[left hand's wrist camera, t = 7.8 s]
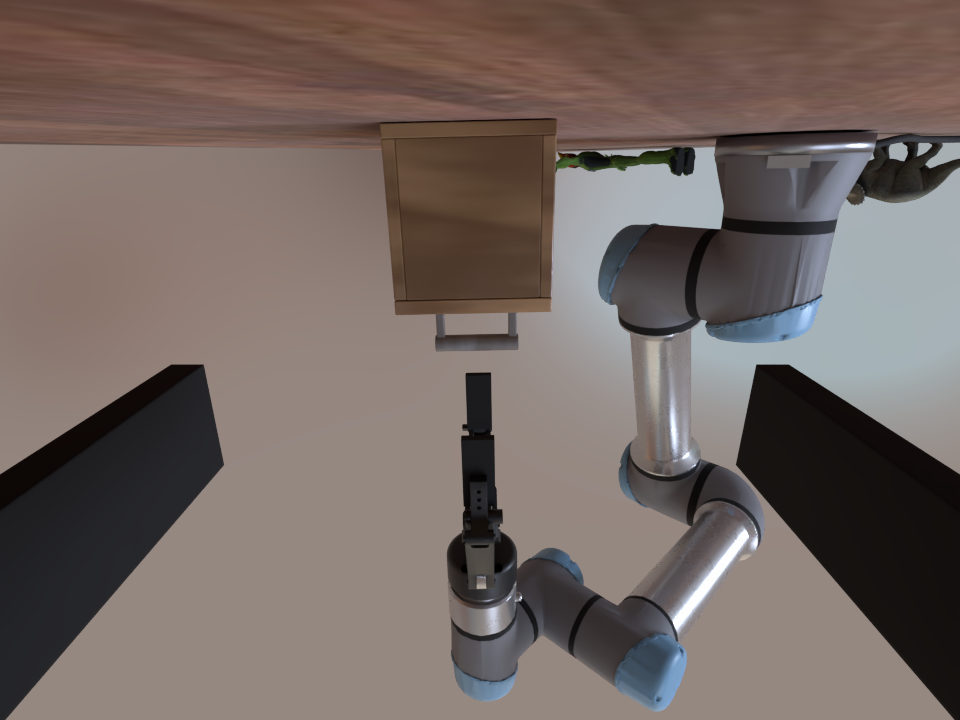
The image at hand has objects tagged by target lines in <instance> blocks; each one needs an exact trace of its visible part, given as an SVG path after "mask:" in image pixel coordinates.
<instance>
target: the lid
mask: <svg viewBox="0 0 960 720" xmlns="http://www.w3.org/2000/svg"><path fill="white" fill-rule="evenodd" d="M551 310H552V298H551V297H540V296H539V297H528V298H480V299H433V300H407V299H406V300H395V314H396V315H419V314H436V325H437V335H436V338H435V345H436V351H480V350H518V334H516V312H551ZM467 313H508V334H476V335H445V318H444V314H467Z"/></svg>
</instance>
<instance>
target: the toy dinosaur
mask: <svg viewBox="0 0 960 720" xmlns="http://www.w3.org/2000/svg"><path fill="white" fill-rule="evenodd" d="M903 144H904V145H906V146H907V147H908V148H907V151H908V155H907V157H906V159H905V161H899V160H896V159H890V158H889V146H890V145H887V146H883V147H879V148H875V149H874V152H873V155H874V158H875V159H873V160H870V161H868V162H867V164H866V166H865V167H864V169H863V171H862V172H861V174H860V176H859V177H858V179H857V181H856V182H855V184H854V186H853V188H852V189H851V191H850V193H849V194H848V196H847V198H846V199H847V200H848V201H849V202H850V203H851V204H852V205H853V204H854V205H856V204H857V205H859V204H860V203H863V201H864V197H865V196H867V197H870V198H874V199H877V200H881V201H884V202H890V203H900V202H908V201H912V200H916V199H919V198H921V197H923V196H925V195H927V194H928V193H930V192H931V191H933V190H934V189H935V188H937V187H938V186H939V185H940V184H941V183H942V182H943V181H944V180H945V179H946V178H947V177H948V176H949V175H950V174H951V173H952V172H953V171H954V170H956V169H958V168H959V167H960V159H956V160H952V161H949V162H947V163H944V164H940V165H938V166H936V167H933V168H929V167H928V166H926V165H925V164H926V163H927V161H928V160H929V159H930V158H932V157H934V156H935V155H936V154H937V153H938V151H939V150H940V149H941V148H942V146H943V145H942V143H930V144H932V147H931V148H930V149H929V150H928V151H927V152H926V153H924V154H922V155H920V156H917V152H918V144H919V143H918V142H903Z"/></svg>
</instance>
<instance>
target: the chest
mask: <svg viewBox="0 0 960 720" xmlns="http://www.w3.org/2000/svg"><path fill="white" fill-rule="evenodd" d="M555 134H557V119H545V120H503V121H461V122H419V123H380V135H381V138H382V139H381V145H382V157H383V169H384V181H385V193H386V205H387V217H388V229H389V241H390V253H391V265H392V276H393V289H394V299H395V300H406V299H407V300H433V299H480V298H528V297H539V296H540V297H551V296H552V273H553V239H554V205H555V171H556V135H555Z"/></svg>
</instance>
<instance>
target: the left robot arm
mask: <svg viewBox="0 0 960 720" xmlns="http://www.w3.org/2000/svg"><path fill="white" fill-rule="evenodd" d="M223 465H224V463H223V458H222V453H221V448H220V443H219V438H218V433H217V428H216V423H215V418H214V413H213V409H212V404H211V399H210V394H209V389H208V384H207V379H206V374H205V369H204V365H170V366H168V367H167V368H165V369H164V370H162V371H161V372H159V373H157V374H156V375H154V376H153V377H151V378H150V379H148V380H147V381H145V382H143V383H142V384H140V385H139V386H137V387H136V388H134V389H133V390H131V391H129V392H128V393H126V394H125V395H123V396H122V397H120V398H119V399H117V400H115V401H114V402H112V403H111V404H109V405H108V406H106V407H104V408H103V409H101V410H100V411H98V412H97V413H95V414H94V415H92V416H90V417H89V418H87V419H86V420H84V421H83V422H81V423H80V424H78V425H77V426H75V427H73V428H72V429H70V430H69V431H67V432H66V433H64V434H62V435H61V436H59V437H58V438H56V439H55V440H53V441H52V442H50V443H48V444H47V445H45V446H44V447H42V448H41V449H39V450H37V451H36V452H34V453H33V454H31V455H30V456H28V457H27V458H25V459H23V460H22V461H20V462H19V463H17V464H16V465H14V466H13V467H11V468H10V469H8V470H6V471H5V472H3V473H2V474H0V720H5V719H6V718H7V717H8V716H9V715H10V714H11V713H12V711H13V710H14V709H15V708H16V707H17V706H18V704H19V703H20V702H21V701H22V700H23V699H24V697H25V696H26V695H27V694H28V693H29V692H30V690H31V689H32V688H33V687H34V686H35V685H36V683H37V682H38V681H39V680H40V679H41V678H42V676H43V675H44V674H45V673H46V672H47V671H48V669H49V668H50V667H51V666H52V665H53V664H54V662H55V661H56V660H57V659H58V658H59V657H60V655H61V654H62V653H63V652H64V651H65V650H66V648H67V647H68V646H69V645H70V644H71V643H72V642H73V640H74V639H75V638H76V637H77V636H78V635H79V633H80V632H81V631H82V630H83V629H84V628H85V626H86V625H87V624H88V623H89V622H90V620H91V619H92V618H93V617H94V616H95V615H96V614H97V612H98V611H99V610H100V609H101V608H102V607H103V605H104V604H105V603H106V602H107V601H108V600H109V598H110V597H111V596H112V595H113V594H114V593H115V591H116V590H117V589H118V588H119V587H120V586H121V584H122V583H123V582H124V581H125V580H126V579H127V577H128V576H129V575H130V574H131V573H132V572H133V570H134V569H135V568H136V567H137V566H138V565H139V563H140V562H141V561H142V560H143V559H144V558H145V556H146V555H147V554H148V553H149V552H150V551H151V549H152V548H153V547H154V546H155V545H156V544H157V542H158V541H159V540H160V539H161V538H162V537H163V535H164V534H165V533H166V532H167V531H168V529H169V528H170V527H171V526H172V525H173V524H174V523H175V521H176V520H177V519H178V518H179V517H180V516H181V514H182V513H183V512H184V511H185V510H186V509H187V507H188V506H189V505H190V504H191V503H192V502H193V500H194V499H195V498H196V497H197V496H198V495H199V493H200V492H201V491H202V490H203V489H204V488H205V486H206V485H207V484H208V483H209V482H210V481H211V479H212V478H213V477H214V476H215V475H216V474H217V472H218V471H219V470H220V469H221V468H222V467H223ZM736 465H737V467H738V468H739V469H740V470H741V471H742V472H743V474H744V475H745V476H746V477H747V478H748V479H749V481H750V482H751V483H752V484H753V485H754V486H755V488H756V489H757V490H758V491H759V492H760V493H761V495H762V496H763V497H764V498H765V499H766V500H767V502H768V503H769V504H770V505H771V506H772V507H773V509H774V510H775V511H776V512H777V513H778V514H779V516H780V517H781V518H782V519H783V520H784V521H785V523H786V524H787V525H788V526H789V527H790V528H791V530H792V531H793V532H794V533H795V534H796V535H797V537H798V538H799V539H800V540H801V541H802V542H803V544H804V545H805V546H806V547H807V548H808V549H809V551H810V552H811V553H812V554H813V555H814V556H815V558H816V559H817V560H818V561H819V562H820V563H821V565H822V566H823V567H824V568H825V569H826V570H827V572H828V573H829V574H830V575H831V576H832V577H833V579H834V580H835V581H836V582H837V583H838V584H839V586H840V587H841V588H842V589H843V590H844V591H845V593H846V594H847V595H848V596H849V597H850V598H851V600H852V601H853V602H854V603H855V604H856V605H857V607H858V608H859V609H860V610H861V611H862V612H863V614H864V615H865V616H866V617H867V618H868V619H869V621H870V622H871V623H872V624H873V625H874V626H875V627H876V629H877V630H878V631H879V632H880V633H881V635H882V636H883V637H884V638H885V639H886V640H887V641H888V643H889V644H890V645H891V646H892V647H893V648H894V650H895V651H896V652H897V653H898V654H899V656H900V657H901V658H902V659H903V660H904V661H905V662H906V664H907V665H908V666H909V667H910V668H911V669H912V671H913V672H914V673H915V674H916V675H917V676H918V678H919V679H920V680H921V681H922V682H923V683H924V685H925V686H926V687H927V688H928V689H929V690H930V692H931V693H932V694H933V695H934V696H935V697H936V699H937V700H938V701H939V702H940V703H941V704H942V706H943V707H944V708H945V709H946V710H947V711H948V713H949V714H950V715H951V716H952V717H953V718H954V720H960V474H958V473H957V472H955V471H954V470H952V469H951V468H949V467H947V466H946V465H944V464H943V463H941V462H940V461H938V460H937V459H935V458H933V457H932V456H930V455H929V454H927V453H926V452H924V451H923V450H921V449H919V448H918V447H916V446H915V445H913V444H912V443H910V442H908V441H907V440H905V439H904V438H902V437H901V436H899V435H898V434H896V433H894V432H893V431H891V430H890V429H888V428H887V427H885V426H884V425H882V424H880V423H879V422H877V421H876V420H874V419H873V418H871V417H870V416H868V415H866V414H865V413H863V412H862V411H860V410H859V409H857V408H856V407H854V406H852V405H851V404H849V403H848V402H846V401H845V400H843V399H841V398H840V397H838V396H837V395H835V394H834V393H832V392H831V391H829V390H827V389H826V388H824V387H823V386H821V385H820V384H818V383H817V382H815V381H813V380H812V379H810V378H809V377H807V376H806V375H804V374H803V373H801V372H799V371H798V370H796V369H795V368H793V367H792V366H790V365H756V369H755V374H754V379H753V384H752V389H751V394H750V399H749V404H748V408H747V413H746V418H745V423H744V428H743V433H742V438H741V443H740V448H739V453H738V458H737V462H736Z"/></svg>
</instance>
